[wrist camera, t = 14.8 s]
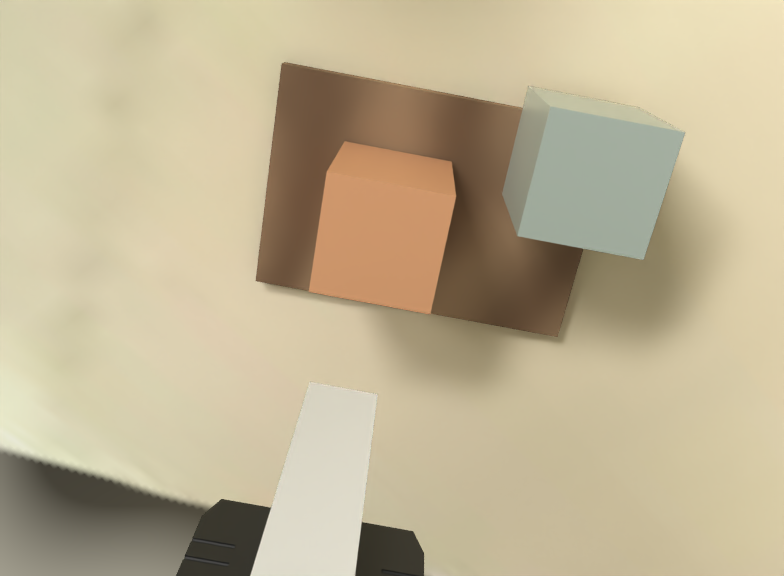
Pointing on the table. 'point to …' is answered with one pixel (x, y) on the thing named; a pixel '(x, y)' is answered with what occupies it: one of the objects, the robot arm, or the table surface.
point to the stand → (425, 138)
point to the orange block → (383, 227)
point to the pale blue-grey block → (589, 172)
